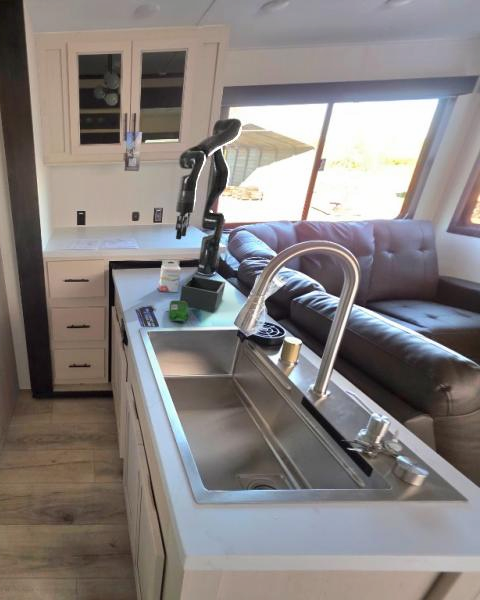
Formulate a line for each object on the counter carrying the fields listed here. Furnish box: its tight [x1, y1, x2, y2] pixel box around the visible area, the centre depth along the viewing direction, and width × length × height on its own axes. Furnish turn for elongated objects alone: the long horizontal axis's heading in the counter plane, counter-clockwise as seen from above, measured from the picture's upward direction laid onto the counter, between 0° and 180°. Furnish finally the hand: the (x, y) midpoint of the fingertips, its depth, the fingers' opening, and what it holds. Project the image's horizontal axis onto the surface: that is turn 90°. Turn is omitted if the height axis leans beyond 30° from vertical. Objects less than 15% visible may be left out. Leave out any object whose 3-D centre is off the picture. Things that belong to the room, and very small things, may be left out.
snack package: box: [168, 300, 189, 322], centre depth 125 cm, size 7×16×5 cm, turn 164°
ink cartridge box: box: [158, 259, 182, 293], centre depth 150 cm, size 9×5×15 cm, turn 84°
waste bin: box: [179, 275, 226, 314], centre depth 138 cm, size 16×15×9 cm
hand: (180, 237), depth 145 cm, fingers open, 8 cm apart
